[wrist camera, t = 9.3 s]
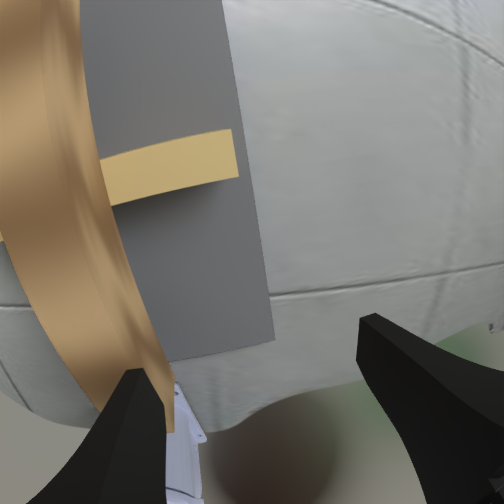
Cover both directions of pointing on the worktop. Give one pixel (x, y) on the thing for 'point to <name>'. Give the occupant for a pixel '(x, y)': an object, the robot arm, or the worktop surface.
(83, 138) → the oak beam
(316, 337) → the worktop surface
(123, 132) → the ridge stand
